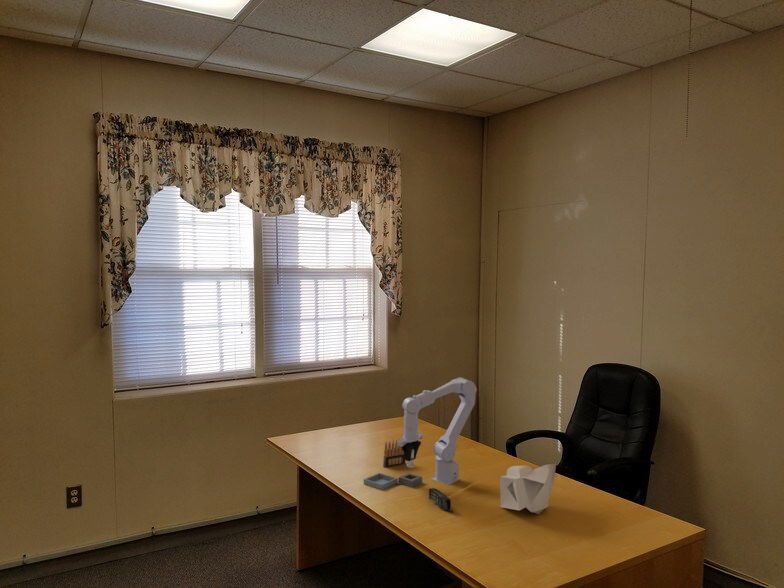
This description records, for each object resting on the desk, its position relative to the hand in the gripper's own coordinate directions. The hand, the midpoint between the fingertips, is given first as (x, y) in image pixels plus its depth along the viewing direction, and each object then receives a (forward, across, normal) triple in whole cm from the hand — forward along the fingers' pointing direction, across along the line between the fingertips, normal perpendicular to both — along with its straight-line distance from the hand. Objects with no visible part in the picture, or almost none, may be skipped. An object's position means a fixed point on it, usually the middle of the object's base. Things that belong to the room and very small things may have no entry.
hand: (410, 459), depth 242 cm
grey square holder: (+10, 0, 0) cm, 10 cm away
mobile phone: (+11, +10, +22) cm, 27 cm away
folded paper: (+10, -10, +51) cm, 53 cm away
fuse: (+3, 0, 0) cm, 3 cm away
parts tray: (+10, +8, -9) cm, 16 cm away
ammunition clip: (+11, -13, -19) cm, 25 cm away
